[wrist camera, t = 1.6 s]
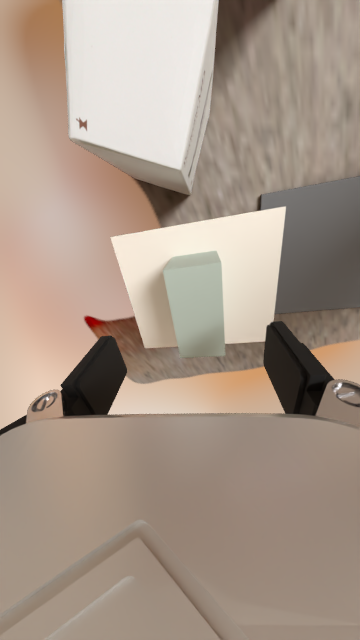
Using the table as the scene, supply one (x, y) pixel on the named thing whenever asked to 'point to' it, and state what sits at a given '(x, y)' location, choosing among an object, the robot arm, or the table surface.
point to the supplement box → (141, 84)
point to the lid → (204, 281)
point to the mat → (318, 246)
